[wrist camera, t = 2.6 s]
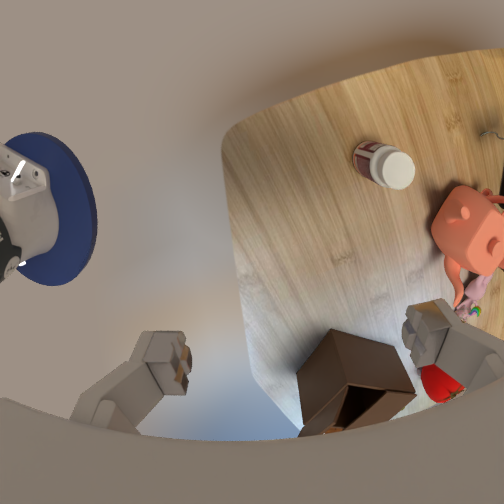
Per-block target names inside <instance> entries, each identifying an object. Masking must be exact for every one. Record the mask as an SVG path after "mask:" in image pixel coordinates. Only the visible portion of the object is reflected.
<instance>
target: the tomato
mask: <svg viewBox="0 0 504 504" xmlns="http://www.w3.org/2000/svg"><path fill="white" fill-rule="evenodd" d="M421 380H422V384H423V387H424V389H425V391H426V393H427V394H428V396H429V397H430V399H432V400H433V401H435V402H436V403H445V402H446V401H448V400H450V399H453V398H454V397H455V396H456V395H457V394H459V393H460V392H462V391H464V390H463V389H464V388H465V387H464V386H463V385H461V384H460V383H459V382H457V381H456V380H455V379H453V378H452V377H451V376H449V375H448V374H447V373H445V372H444V371H443V370H442V369H440V368H439V367H438V366H436V365H435V364H431V365H427V366H423V368H422V372H421Z"/></svg>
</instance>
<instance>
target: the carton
mask: <svg viewBox="0 0 504 504" xmlns="http://www.w3.org/2000/svg"><path fill="white" fill-rule="evenodd" d="M296 374H297V382H298V389H299V396H300V403H301V411H302V418H303V425H306V424H307V423H308V422H309V421H311V420H312V419H313V418H314V417H315V416H316V415H317V414H318V413H319V412H320V411H322V410H323V409H324V408H325V407H326V406H327V405H328V404H329V403H330V402H331V401H332V400H333V399H334V398H335V397H336V396H337V395H338V394H339V393H340V392H341V391H342V390H343V389H344V388H345V387H346V386H348V387H349V388H348V391H347V394H346V397H345V400H344V403H343V405H342V408H341V411H340V414H339V416H338V419H337V421H336V424H335V425H333V426H332V427H331V428H341V429H343V430H342V431H345V430H350V429H355V428H360V427H365V426H369V425H374V424H378V423H382V422H386V421H389V420H390V419H391V418H392V417H393V416H395V415H396V414H397V413H398V412H399V411H400V410H402V409H403V408H404V407H405V406H406V405H407V404H408V403H409V402H411V401H412V400H413V399H414V398H415V397H416V396H417V394H414V393H415V392H416V391H415V389H414V387H413V385H412V382H411V380H410V378H409V376H408V374H407V372H406V370H405V368H404V366H403V363H402V361H401V359H400V357H399V355H398V353H397V351H396V349H395V347H394V346H391V345H387V344H383V343H380V342H376V341H372V340H369V339H365V338H361V337H358V336H354V335H351V334H347V333H344V332H340V331H337V330H334V329H330V331H329V332H328V333H327V335H326V336H325V337H324V339H323V340H322V341H321V343H320V344H319V345H318V347H317V348H316V349H315V351H314V352H313V353H312V354H311V356H310V357H309V358H308V360H307V361H306V362H305V363H304V365H303V366H302V367H301V368H300V370H299V371H298V372H297V373H296Z"/></svg>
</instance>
